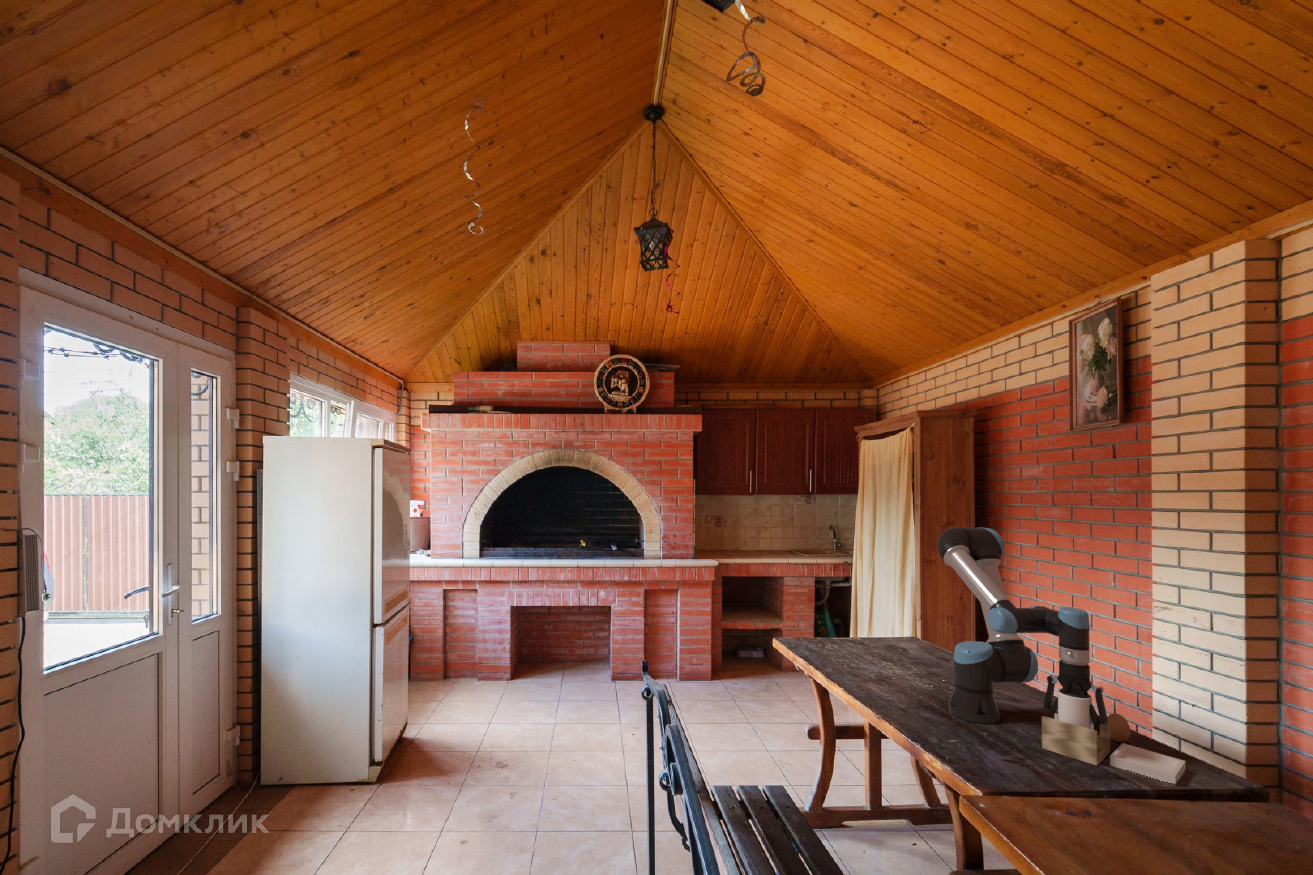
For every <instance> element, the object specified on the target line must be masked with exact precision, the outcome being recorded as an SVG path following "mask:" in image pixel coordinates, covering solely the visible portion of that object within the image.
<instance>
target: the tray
mask: <svg viewBox="0 0 1313 875" xmlns="http://www.w3.org/2000/svg"><path fill="white" fill-rule="evenodd" d="M1109 765H1110V766H1111V767H1114V768H1117V769H1120V770H1124V771H1126V770H1129V771H1128V772H1130V771H1132V772H1131V773H1133V772H1135V773H1134V774H1136V773H1138V774H1137V775H1139V774H1141V775H1140V776H1142V775H1145V776H1144V777H1146V776H1148V777H1147V778H1149V777H1151V778H1150V779H1152V778H1154V779H1153V780H1155V779H1158V780H1160V781H1159V782H1162V781H1164V782H1163V783H1165V782H1168V783H1173V784H1174V783H1175V784H1176V783H1177V781H1178V780H1179V779H1180V780H1181V778H1182V777H1181V775H1182V776H1184V774H1185V772H1186V771H1185V770H1186V769H1187V767H1186V766H1187V765H1186V760H1183V759H1180V758H1176V757H1173V756H1169V755H1166V754H1162V753H1159V752H1155V751H1152V750H1150V749H1149V750H1148V749H1145V748H1142V747H1137V746H1135V745H1132V744H1128V743H1124V742H1121V743H1120V745H1119V746H1118V747H1117V748H1116V749H1115V750H1114V752H1112V753H1111V754H1110V756H1109ZM1184 771H1185V772H1184ZM1183 773H1184V774H1183ZM1180 777H1181V778H1180ZM1158 780H1157V781H1158ZM1180 780H1179V781H1180ZM1168 783H1167V784H1168ZM1177 784H1178V783H1177Z"/></svg>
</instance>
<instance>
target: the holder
mask: <svg viewBox="0 0 1313 875" xmlns="http://www.w3.org/2000/svg"><path fill="white" fill-rule="evenodd" d="M1057 711H1058V710H1057ZM1099 719H1100V717H1099ZM1110 740H1111V738H1110V736H1109V721H1108V722H1107V723H1106V724H1100V735H1099V736H1098V735H1097V731H1095V730H1092V729H1088V728H1085V727H1081V726H1077V725H1074V724H1070V723H1067V722H1063V721H1060V720H1056V719H1053V718H1051V717H1048V716H1045V715H1042V716H1041V748H1042V749H1043V750H1047V751H1050V752H1053V753H1056V754H1059V755H1063V756H1066V757H1069V758H1072V759H1076V760H1077V761H1081V762H1085V763H1088V764H1092V765H1095V766H1098V765H1099V764H1100V763H1101V762H1102V761H1103V760H1104V759H1105V758H1106V757H1107V756H1108V755H1109V754H1110V753H1111V748H1110V747H1111V746H1110V744H1111V742H1110Z"/></svg>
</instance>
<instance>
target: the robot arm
mask: <svg viewBox="0 0 1313 875" xmlns="http://www.w3.org/2000/svg"><path fill="white" fill-rule="evenodd" d="M1005 547H1006V546H1005V542H1004V539H1003V537H1002V536H1001V535H1000V534H999V533H998V531H996V530H994V529H993V528H989V527H983V526H981V527H980V526H979V527H969V526H968V527H965V526H964V527H961V526H960V527H959V526H953V527H948V528H947V529H945V530H944V531H942V532H941V533H940V535H939V536H938V538H937V541H936V549H937V553H938V556H939V557H940V559H941V560H942V562H944V564H945V565H946V566H948V567H951V568H952V569H953V570H954V572H955V573H956V574H957V576H958V577H959V578H960V579H961V581H963V582H964V584H965V585H966V586H967V588H968V589H969V590H970V591H971V592H972V593H973V595H974V596H975V597H976V598H977V600H978V601H979V602H980V606H981V607H980V608H981V610H982V614H983V619H984V622H985V625H986V630H987V634H988V639H987V640H986V641H985V642H984V641H975V640H967V641H962V642H959V643H957V644H956V645H955V646H954V653H953V666H954V667H953V668H954V669H953V675H954V676H953V677H954V678H953V682H954V684H953V686H954V687H953V690H952V693H951V696H950V699H949V702H948V712H949V714H951V715H952V716H954V717H956V718H959V719H961V720H963V721H967V722H971V723H976V724H977V723H978V724H996V723H998V722H1000V711H999V707H998V704H997V701H996V699H995V696H994V684H1017V685H1018V684H1023V683H1030V682H1032V681H1033V680H1034V679H1035V678H1036V676H1037V674H1038V670H1039V662H1038V657H1037V655H1036V653H1035V652H1034V651H1033V649H1032V648H1030V647H1029V646H1026V645H1025V641H1024V639H1023V638H1021V637H1020V636H1018V635H1017V634H1048V635H1049V634H1050V635H1052V636H1055V637H1058V658H1059V660H1058V675H1057V676H1056V675H1053V674H1050V675H1048V676H1047V677H1046V680H1047V681H1046V682H1047V686H1046V691H1045V695H1044V696H1045V698H1044V702H1043V708H1044V709H1047V710H1048V711H1049V712H1050V718H1053V719H1056V720H1058V711H1057V710H1058V696H1057V697H1056V698H1055V700H1054V702H1053V704H1052V700H1053V696H1054V690H1055V686H1056V684H1057V682H1058V683H1059V684H1060V686H1061V687H1062V688H1060V689H1061V691H1060V693H1062V694H1065V695H1066V694H1067V693H1070V694H1075V695H1078V696H1080V697H1081V698H1089V695H1090V694H1089V693H1088V691H1089V690H1090V689H1091V690H1092V693H1093V694H1094V697H1095V703H1096V707H1097V711H1098V713H1097V711H1096V709H1095V706H1094V705H1093V703H1092V705H1090V704H1089V715H1090V717H1091V719H1092V722H1091V723H1090V729H1092V730H1095V731H1097V735H1098V736H1099V735H1100V724H1106V723H1107V722H1108V718H1107V717H1108V715H1107V714H1108V713H1107V711H1106V706H1105V700H1104V695H1103V693H1104V687H1102V686H1101V685H1100V686H1097V685H1094V684H1092V682H1091V671H1090V670H1091V666H1090V665H1089V664H1090V663H1091V662H1090V659H1091V658H1090V657H1091V656H1090V654H1091V652H1090V627H1091V624H1090V618H1089V616H1090V615H1089V613H1088V611H1086V610H1084V609H1082V608H1077V607H1070V606H1063V607H1059V609H1058V610H1056V609H1052V608H1050V607H1046V606H1043V605H1042V606H1040V605H1035V604H1034V605H1032V606H1030V607H1017V606H1016V605H1015V604H1014V603H1013V602H1012V601H1011V600H1010V599H1009V597H1007V594H1006V591H1005V588H1004V584H1003V579H1002V577H1001V573H1000V569H999V566H1000V564H1001V563H1002V559H1001V558H1002V557H1004V554H1005V549H1006V548H1005ZM1099 718H1100V719H1099Z"/></svg>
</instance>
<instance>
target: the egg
mask: <svg viewBox="0 0 1313 875" xmlns="http://www.w3.org/2000/svg"><path fill="white" fill-rule="evenodd" d="M1107 718H1108V721H1109V736H1110V740H1113V741H1114V742H1116V743H1117V742H1118V743H1124V742H1126V741H1127V740H1128V739H1129V738H1130V737H1131V733H1132V732H1131V731H1132V730H1131V727H1130V724H1129V722H1128V720H1127V719H1126V718H1125V717H1124V716H1123V715H1121V714H1119V713H1116V712H1115V713H1114V712H1113V713H1110V714H1109V715H1107Z"/></svg>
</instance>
